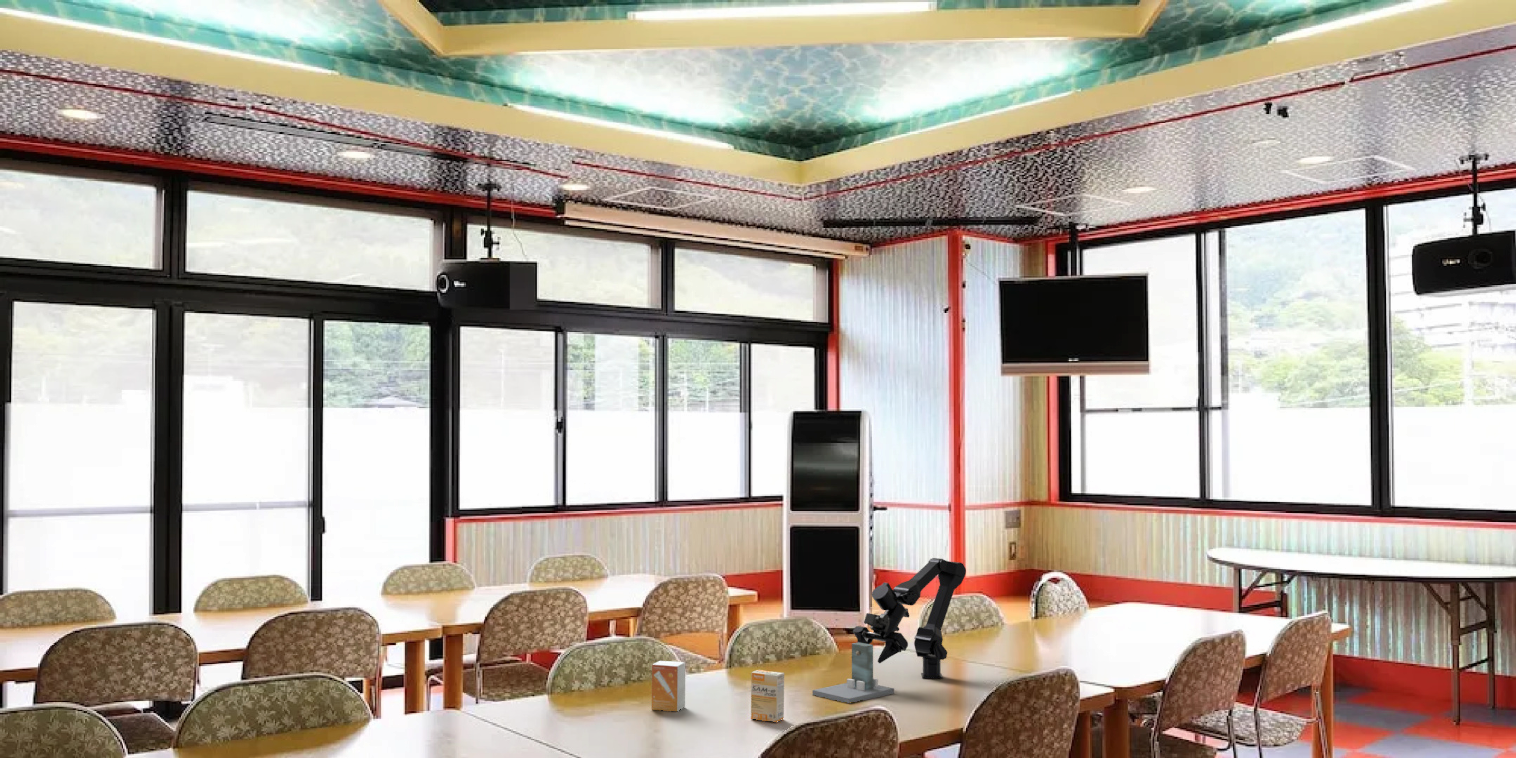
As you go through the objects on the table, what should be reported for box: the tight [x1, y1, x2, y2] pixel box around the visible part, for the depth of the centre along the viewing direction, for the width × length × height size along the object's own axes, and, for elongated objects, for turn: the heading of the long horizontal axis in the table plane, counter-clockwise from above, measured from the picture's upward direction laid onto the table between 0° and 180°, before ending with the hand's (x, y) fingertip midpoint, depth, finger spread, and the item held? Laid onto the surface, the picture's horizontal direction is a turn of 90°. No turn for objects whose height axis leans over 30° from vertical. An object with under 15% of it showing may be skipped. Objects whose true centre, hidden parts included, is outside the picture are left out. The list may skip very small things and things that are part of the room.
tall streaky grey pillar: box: [851, 642, 874, 690], centre depth 355 cm, size 4×6×13 cm, turn 42°
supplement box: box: [750, 669, 785, 723], centre depth 321 cm, size 8×5×13 cm, turn 62°
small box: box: [651, 660, 686, 712], centre depth 334 cm, size 8×6×13 cm
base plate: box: [812, 677, 895, 704], centre depth 352 cm, size 20×15×4 cm
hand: (867, 660), depth 357 cm, fingers open, 9 cm apart
